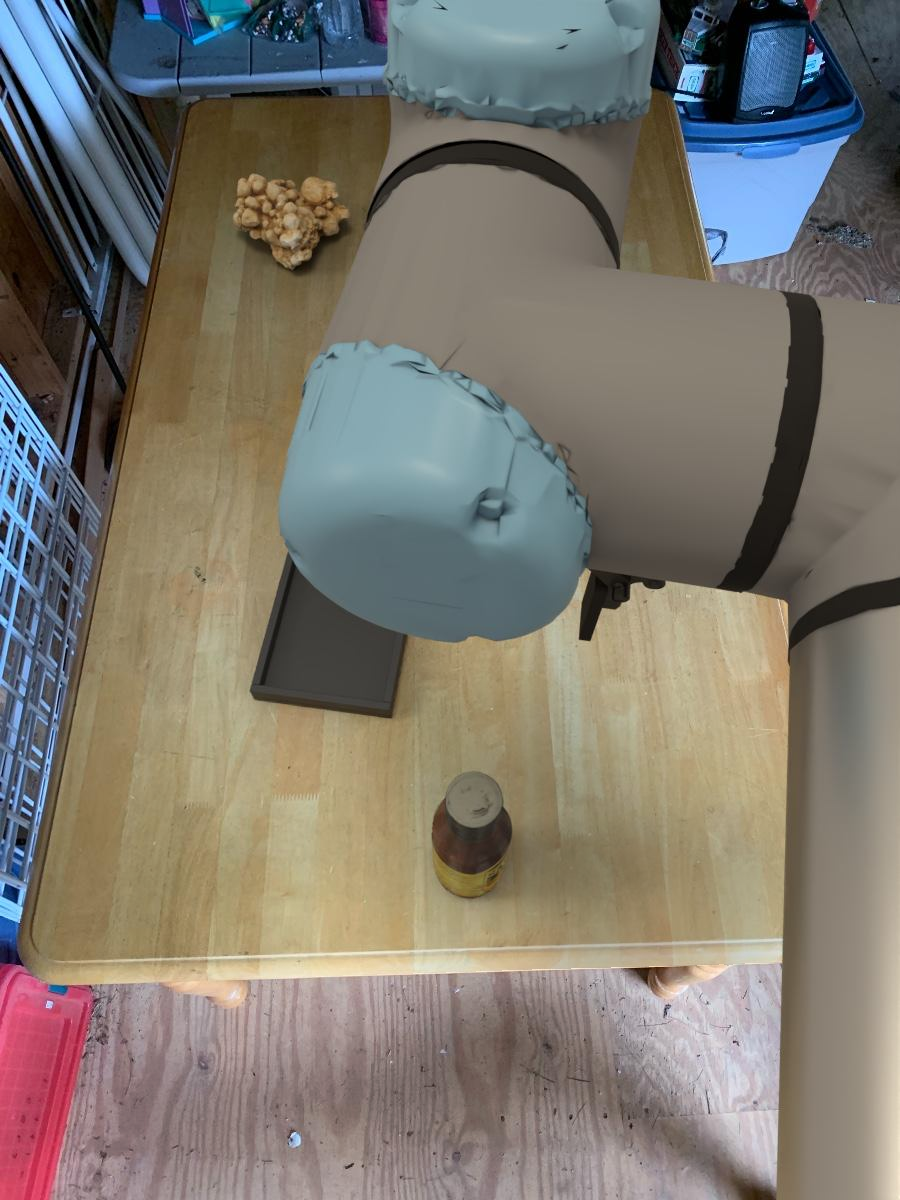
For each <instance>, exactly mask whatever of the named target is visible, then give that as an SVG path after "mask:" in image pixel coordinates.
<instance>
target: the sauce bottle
mask: <svg viewBox="0 0 900 1200" xmlns="http://www.w3.org/2000/svg"><path fill="white" fill-rule="evenodd" d="M503 795H504V794H503V791H502V788H501V787H500V785H499V783H498V782H497V781H496V780H495V779H494V778H493V777H492V776H490V775H488V774H487V773H484V772H482V771H475V770H472V771H466V772H462V773H461V774H459V775H457V776H456V777H454V779H453V780H452V781H451V782H450V783H449V785H448V786H447V789H446V791H445V795H444V798H443V799H442V801H440V803H439V804H438V806H437V808H436V810H435V812H434V814H433V819H432V824H431V825H432V826H431V850H432V862H433V868H434V872H435V875H436V877H437V879H438V880H439V882H440V883H441V885H442V887H444V889H445V890H446V891H449V893H452V894H453V895H455V896H458V897H459V898H464V899H475V898H478V897H481V896H482V895H484V894H486V893H488V892H491V890H492V889H494V887H495V886H497V884H498V882H499V881H500V879H501V878H502V875H503V873H504V869H505V864H506V861H507V858H508V854H509V851H510V847H511V844H512V843H511V842H512V837H513V824H512V823H513V822H512V819H511V817H510V814H509V813H508V810H507V809H506V808H505V807H504V796H503Z"/></svg>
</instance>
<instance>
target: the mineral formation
mask: <svg viewBox="0 0 900 1200" xmlns="http://www.w3.org/2000/svg"><path fill="white" fill-rule="evenodd" d="M296 187H297V185H296V183H295V181H293V180H291V179H289V180H287V181H286V180H284V179H283V178H280V179H271V180H270V181H268V180H267V178H266V177H264V176H262V175H259V174H257V173H251V174H250V175H249V177H248V179H247V178H245V177H241V178H240V179H239V180H238V182H237V187H236V195H237V200H236V202H235V204H234V207H235V208H236V209H237V211H235V212H234V214H233V215H232V219H233V220H232V221H233V224H234V225H235V226H236V227H237V228H238V229H240V230H242V231H243V232H246V233H247V232H248V231H249V237H251V238H252V239H253V240H256V241H257V240H259V239H261V240H263V241H264V243H266V244H268V245H269V246H270V249H271V251H272V257H274V259H275V262H276V263H280V264H281V265H283V267H284V269H285V268H286V269H287V270H288V269H289V270H291V271H293V270H294V269H295V268H296V267H297V266H300V265H301V264H302V263H303V262H308V261H310V259H311V258H312V254H313V249H314V248H316V247H317V246H318V244H319V242H320V239H321V238H320V237H323V236H325V237H329V236H332V235H335V234H338V233H339V231H340V226H339V223H341V222H342V221H343V220H347V219H349V218H350V216H351V213H350V209H349V208H347V207H346V206H345V205H340V204H339V203H338V202H336V201H335V200H336V199H337V198H338V197H339V193H338V185H337V184H336V182H333V181H330V180H324V179H321V178H320V177H316V176H310V177H307V178H305V179H304V181H302V185H301V187H300V191H298V190H297V189H296Z"/></svg>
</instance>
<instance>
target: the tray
mask: <svg viewBox="0 0 900 1200" xmlns="http://www.w3.org/2000/svg"><path fill="white" fill-rule="evenodd" d="M407 636H408V635H406V634H403V633H400V632H396V631H393V630H390V629H387V628H384V627H381V626H379V625H376V624H373V623H371V622H369V621H367V620H364V619H362V618H360V617H358V616H356V615H354V614H352V613H351V612H349V611H347V610H345V609H344V608H342V607H341V606H339V605H337V604H336V603H335V602H333V601H332V600H330V599H329V598H328V597H326V596H325V595H324V594H322V593H321V592H320V591H319V590H318V589H316V588H315V587H314V586H313V585H312V584H311V583H310V582H309V581H308V580H307V579H306V578H305V577H304V576H303V575H302V573H301V572H300V571H299V570H298V568H297V566H296V565H295V563H294V561H293V559H292V558H291V556H290V554H289V552H288V551H287V553H286V557H285V561H284V563H283V568H282V571H281V576H280V578H279V582H278V586H277V590H276V592H275V597H274V601H273V604H272V607H271V612H270V614H269V618H268V622H267V625H266V629H265V633H264V637H263V640H262V644H261V647H260V651H259V655H258V658H257V663H256V666H255V670H254V673H253V676H252V681H251V684H250V687H249V693H250V695H251V696H252V697H253V699H254V700H255V701H263V702H268V703H269V702H270V703H277V704H284V705H291V706H299V707H305V708H313V709H319V710H326V711H327V710H328V711H335V712H343V713H349V714H357V715H363V716H370V717H379V718H385V719H392V715H393V711H394V706H395V700H396V694H397V688H398V683H399V678H400V672H401V667H402V662H403V657H404V651H405V645H406V641H407Z"/></svg>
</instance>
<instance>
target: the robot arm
mask: <svg viewBox="0 0 900 1200" xmlns="http://www.w3.org/2000/svg"><path fill="white" fill-rule="evenodd" d="M660 21H661V0H387V62H386V63H385V65H384V66H383V68H382V84H383V86H385V87H386V91H387V92H388V97H389V107H390V134H389V136H390V137H389V145H388V149H387V152H386V156H385V158H384V159H385V160H384V162H383V164H382V168H381V171H380V174H379V177H378V180H377V182H376V184H375V186H374V187H375V188H374V190H373V194H372V195H371V200H370V203H369V207H368V210H367V213H366V217H365V220H364V226H363V228H364V229H363V236H362V238H361V241H360V243H359V246H358V249H357V251H356V254H355V257H354V259H353V262H352V265H351V268H350V270H349V273H348V275H347V278H346V280H345V283H344V286H343V289H342V291H341V294H340V297H339V299H338V302H337V305H336V306H335V309H334V312H333V314H332V317H331V320H330V321H329V324H328V327H327V329H326V332H325V334H324V337H323V339H322V342H321V345H320V347H319V349H318V351H317V354H316V356H315V358H314V359H313V360H312V361H311V364H310V367H309V371H308V372H307V374H306V376H305V379H304V382H303V384H302V389H301V390H302V391H301V399H302V401H301V405H300V408H299V412H298V415H297V418H296V422H295V426H294V429H293V433H292V436H291V440H290V443H289V446H288V451H287V454H286V458H285V461H286V464H285V469H284V472H283V477H282V482H281V485H280V489H279V490H280V491H279V496H278V500H277V501H278V502H277V503H278V504H277V520H278V527H279V535H280V537H281V538H282V539H283V542H284V546H286V548H287V553H288V552H289V554H290V556H291V558H292V559H293V561H294V563H295V565H296V566H297V568H298V570H299V571H300V572H301V573H302V575H303V576H304V577H305V578H306V579H307V580H308V581H309V582H310V583H311V584H312V585H313V586H314V587H315V588H316V589H318V590H319V591H320V592H321V593H322V594H324V595H325V596H326V597H328V598H329V599H330V600H332V601H333V602H335V603H336V604H337V605H339V606H341V607H342V608H344V609H345V610H347V611H349V612H351V613H352V614H354V615H356V616H358V617H360V618H362V619H364V620H367V621H369V622H371V623H373V624H376V625H379V626H381V627H384V628H387V629H390V630H393V631H396V632H400V633H403V634H406V635H407V636H411V637H415V638H419V639H424V640H429V641H435V642H443V643H451V644H457V643H461V642H466V640H467V639H468V638H473V637H477V638H478V637H479V638H482V639H486V640H489V641H493V642H503V641H509V640H514V639H519V638H522V637H525V636H528V635H530V634H532V633H535V632H537V631H540V630H541V629H543V628H544V627H547V626H548V625H550V624H552V623H553V622H554V621H555V620H556V619H557V618H558V617H559V616H560V615H561V614H562V613H563V612H564V611H565V610H566V609H567V608H568V606H569V605H570V604H571V602H572V600H573V598H574V596H575V593H576V591H577V588H578V586H579V581H580V578H581V577H582V575H583V574H584V572H585V571H586V569H587V570H588V571H590V572H589V576H588V580H587V582H586V587H585V590H584V593H583V596H582V600H581V606H580V617H579V629H578V631H579V632H578V641H584V642H591V641H592V638H593V635H594V632H595V631H596V627H597V624H598V621H599V618H600V616H601V612H602V610H603V609H607V610H613V611H616V610H617V609H619V608H620V607H621V605H622V603H623V604H624V603H627V602H629V601H630V600H631V587H632V586H631V585H633V584H639V583H642V585H643V587H645V588H646V589H649V590H662V589H663V588H665V587H666V584H667V582H670V583H677V584H682V585H688V586H695V587H701V588H707V589H715V590H722V591H727V592H731V593H732V592H733V593H738V594H742V593H747V594H753V595H757V596H761V597H765V598H771V599H776V600H780V601H784V602H785V603H786V604H787V630H788V631H787V637H788V638H787V639H788V644H787V664H788V667H789V673H788V675H789V676H788V709H787V711H788V712H787V713H788V714H787V752H786V793H785V801H786V802H785V827H784V829H785V832H784V833H785V834H784V867H783V868H784V869H783V871H784V872H783V876H784V877H783V909H782V916H783V917H782V949H781V952H782V953H781V954H782V955H781V991H780V992H781V994H780V995H781V996H780V1000H781V1001H780V1027H779V1028H780V1029H779V1031H780V1032H779V1033H780V1034H779V1072H778V1074H779V1075H778V1108H777V1109H778V1111H777V1147H776V1148H777V1149H776V1151H777V1153H776V1159H777V1160H776V1186H775V1187H776V1188H775V1189H776V1190H775V1191H776V1192H775V1193H776V1194H775V1200H900V304H893V303H884V302H883V303H882V302H877V301H876V302H874V301H866V300H859V299H858V300H857V299H849V298H841V297H840V298H839V297H832V296H824V295H815V294H807V293H802V292H801V293H800V292H793V291H786V290H778V289H773V288H772V289H771V288H764V287H757V286H749V285H741V284H733V283H727V282H720V281H718V282H717V281H711V280H703V279H695V278H689V277H682V276H675V275H668V274H667V275H666V274H660V273H652V272H644V271H635V270H630V269H629V270H628V269H621V253H622V248H623V247H622V245H623V239H624V238H623V237H624V229H625V222H626V215H627V208H628V201H629V193H630V188H631V182H632V177H633V176H632V175H633V172H634V171H633V170H634V164H635V159H636V155H637V154H636V153H637V149H638V144H639V139H640V134H641V129H642V125H643V118H644V116H645V115H647V114H648V113H649V111H650V110H649V109H650V104H651V100H652V95H653V88H652V86H651V79H652V74H653V73H652V72H653V67H654V66H653V65H654V60H655V55H656V48H657V41H658V35H659V31H660V30H659V29H660V23H661V22H660Z"/></svg>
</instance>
